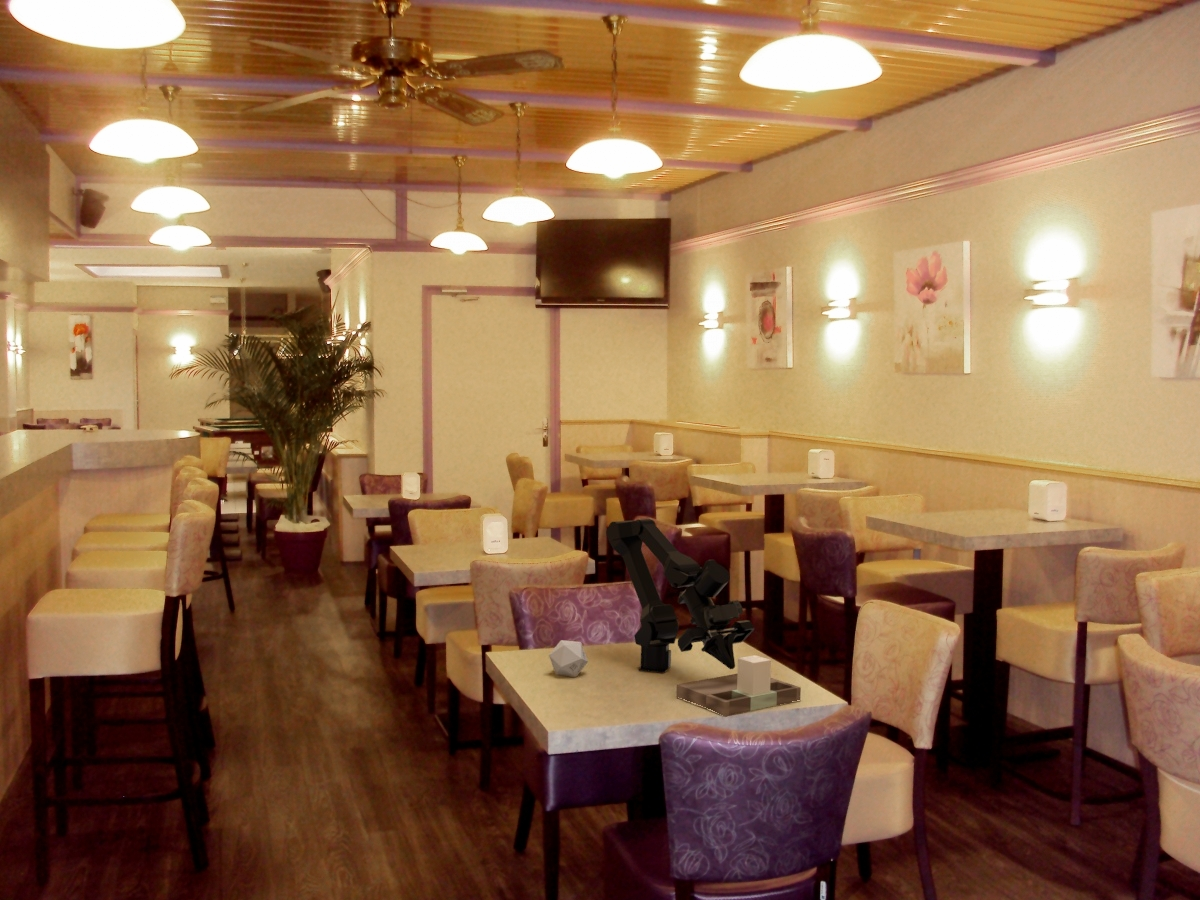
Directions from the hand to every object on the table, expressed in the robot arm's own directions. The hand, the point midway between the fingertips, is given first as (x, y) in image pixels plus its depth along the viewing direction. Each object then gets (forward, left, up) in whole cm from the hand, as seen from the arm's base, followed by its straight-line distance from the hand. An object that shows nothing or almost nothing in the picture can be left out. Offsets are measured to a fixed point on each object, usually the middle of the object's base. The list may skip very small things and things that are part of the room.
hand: (732, 668), depth 241 cm
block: (+5, -4, -4) cm, 8 cm away
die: (-40, +5, -7) cm, 41 cm away
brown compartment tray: (+2, -1, -7) cm, 7 cm away
